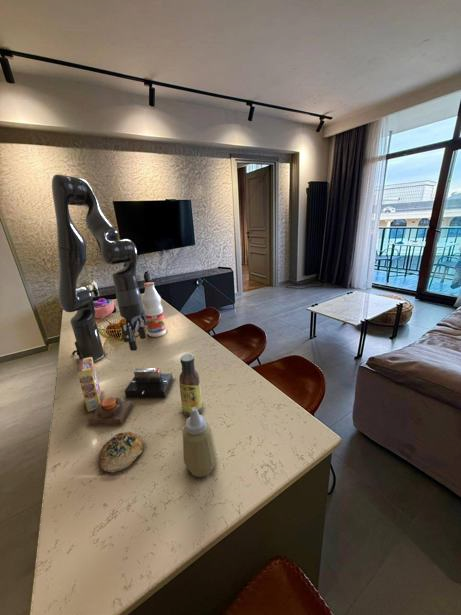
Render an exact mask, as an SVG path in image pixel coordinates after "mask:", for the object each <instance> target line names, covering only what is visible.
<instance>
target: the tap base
mask: <svg viewBox="0 0 461 615" xmlns="http://www.w3.org/2000/svg"><path fill="white" fill-rule="evenodd" d="M161 376H162V381H161V383H136V380H135V376H133V378H132V380H131V381H130V382H129V384H128V385H127V387H126V388H125V390H124V393H125V398H126V399H141V398H142V399H166V397H167V395H168V392H169V390H170V388H171V385H172V384H173V381H174V377H173V373H161Z"/></svg>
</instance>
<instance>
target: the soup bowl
mask: <svg viewBox="0 0 461 615" xmlns="http://www.w3.org/2000/svg"><path fill="white" fill-rule="evenodd" d="M93 303H94V308H95V319H103V318H105V317H107V316H110V315H111V314H112V313H113V312H114V310H115V300H114V299H111V298H110V299H109V298H108V299H106V298H105V297H99V298H98V300H95V301H94V300H93Z"/></svg>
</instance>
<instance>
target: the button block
mask: <svg viewBox="0 0 461 615" xmlns="http://www.w3.org/2000/svg"><path fill="white" fill-rule="evenodd" d="M114 398H115V400H116V403H117V404H116V406H115V407H114V408H113V409H110V410H103V407H102V402H103V401H104V400H101V403H100V405H99V406H98V407H97V409H96V410H93V412H92V414H90V417H89V418H88V422H89V425H101V426H102V425H107V426H108V425H109V426H111V425H115V426H116V425H117V426H119V425H120V426H121V425H122V424H123V423H124V422H125V420H126V418H127V416H128V415H129V413H130V411H131V409H132V407H133V403H132V400H122V399H121V398H119V397H114Z"/></svg>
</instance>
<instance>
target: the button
mask: <svg viewBox="0 0 461 615" xmlns="http://www.w3.org/2000/svg"><path fill="white" fill-rule="evenodd" d="M115 398H116V397H113V396H111V397H107V398H105V399H103V400H102V401H103V402H102V401H101V402H102V407H103V410H110V409H113V408H114V407H115V406H116V404H117V403H116V400H115Z"/></svg>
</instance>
